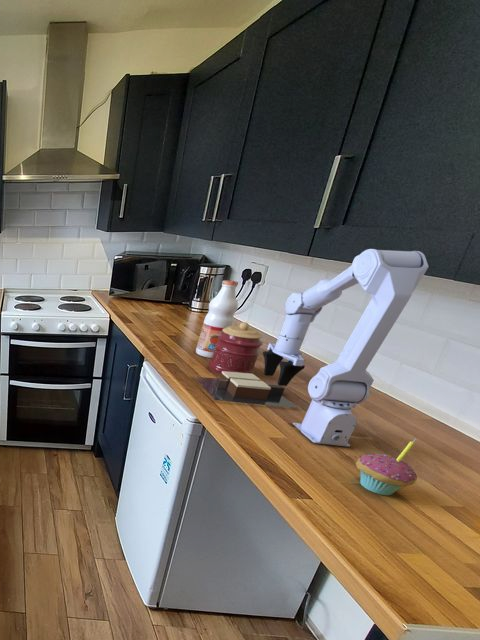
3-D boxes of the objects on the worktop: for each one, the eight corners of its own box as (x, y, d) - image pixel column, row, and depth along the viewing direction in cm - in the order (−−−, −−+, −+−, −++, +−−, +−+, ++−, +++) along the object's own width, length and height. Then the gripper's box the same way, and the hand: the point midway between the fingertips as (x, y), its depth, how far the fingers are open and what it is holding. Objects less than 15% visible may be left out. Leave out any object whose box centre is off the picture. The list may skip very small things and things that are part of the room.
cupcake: (380, 477, 85) (408, 428, 80) (417, 504, 77) (451, 452, 72) (337, 473, 85) (362, 424, 80) (370, 500, 77) (399, 448, 73)
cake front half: (266, 400, 117) (271, 387, 115) (233, 397, 118) (237, 384, 116) (258, 393, 121) (262, 381, 119) (226, 390, 122) (230, 378, 121)
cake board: (297, 409, 113) (298, 407, 113) (214, 402, 116) (215, 400, 115) (264, 384, 129) (264, 382, 129) (192, 378, 132) (192, 376, 132)
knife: (278, 393, 122) (281, 384, 121) (282, 395, 120) (285, 386, 119) (215, 387, 124) (218, 378, 123) (218, 390, 122) (221, 381, 121)
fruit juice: (206, 349, 160) (227, 278, 149) (228, 357, 152) (252, 283, 141) (189, 352, 157) (209, 279, 145) (210, 360, 149) (233, 284, 137)
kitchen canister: (216, 377, 133) (232, 325, 126) (202, 363, 145) (216, 315, 138) (258, 381, 131) (277, 329, 124) (241, 367, 143) (257, 319, 136)
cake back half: (256, 391, 122) (260, 379, 121) (224, 388, 123) (228, 376, 122) (248, 385, 126) (252, 373, 125) (218, 382, 128) (222, 371, 126)
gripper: (323, 345, 107) (304, 391, 112) (292, 330, 120) (276, 372, 125) (294, 343, 108) (277, 388, 113) (266, 328, 121) (252, 370, 126)
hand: (274, 380), depth 119 cm, fingers open, 7 cm apart
